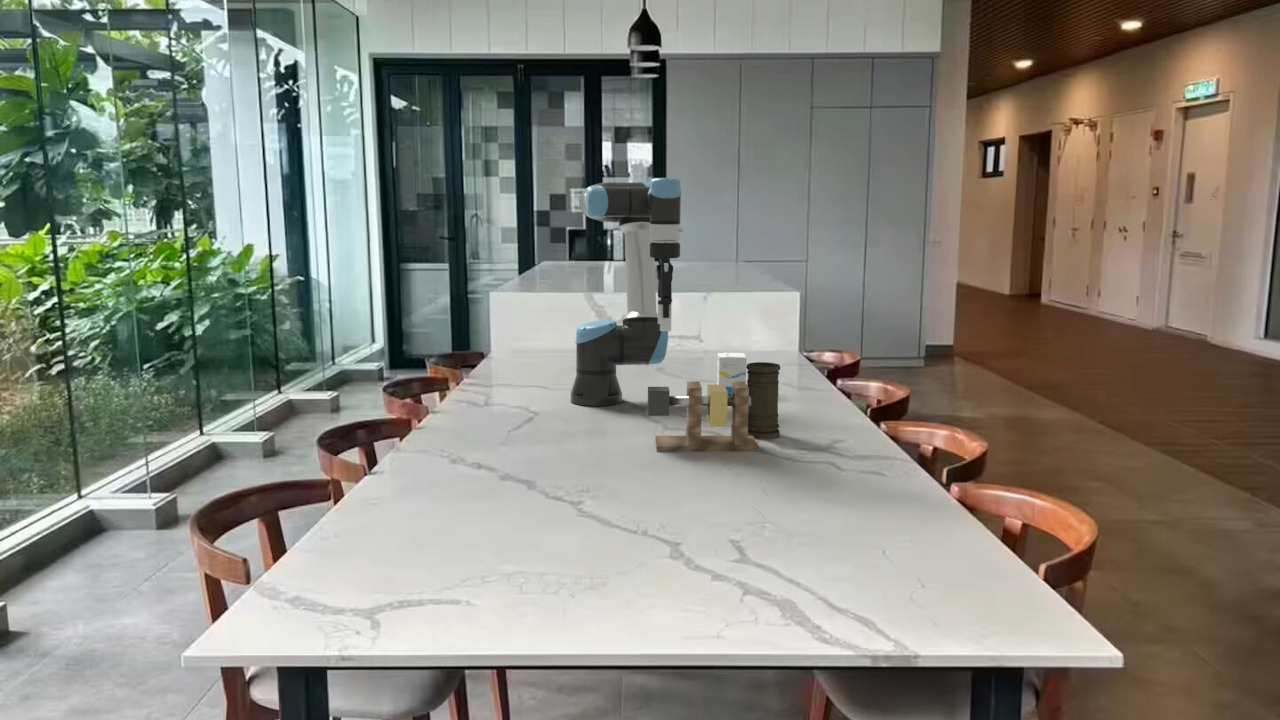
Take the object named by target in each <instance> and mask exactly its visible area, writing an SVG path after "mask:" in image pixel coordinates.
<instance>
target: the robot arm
mask: <svg viewBox="0 0 1280 720" xmlns="http://www.w3.org/2000/svg"><path fill="white" fill-rule="evenodd" d="M681 197H682V189H681V180H680V179H679V178H677V177H654V178H651V180H650V182H643V181H639V182H635V181H634V182H610V181H609V182H600V183H596V184H592V185H589V186H588V187H586V188H585V189H583V191H582V192H581V193H580V196H579V198H578V199H579V200H578V201H579V203H578V204H579V208H580V210H581V212H582V213H583V214H584V216H586V217H587V218H589V219H592V220H596V221H599V222H605V223H618V224H619V225H618V229H619V230H620V231H621V232H622V233H623V235H624V253H625V254H624V255H625V257H624V258H625V278H626V279H625V282H626V286H625V287H626V308H627V309H626V310H627V312H626V315H625V316H624V317H622V324H618V323H617V322H616V321H615V320H613V319H607V320H606V319H603V320H595V321H589V322H586V323H582V324H581V325H579V326H577V328H576V334H575V335H576V337H575V340H574V341H575V344H576V348H575V349H576V352H575V353H576V354H575V355H576V356H575V357H576V358H575V359H576V360H575V363H576V366H575V367H576V371H575V372H576V374H575V378H574V381H573V385H572V388H571V391H570V402H571V403H573V404H575V405H578V406H589V407H601V406H602V407H603V406H605V407H606V406H613V405H618V404H620V403H621V402H623V392H622V389H621V386H620V383H619V379H618V377H617V366H631V365H633V366H635V365H637V366H638V365H639V366H642V365H646V366H649V365H660V364H661V363H662V362H663V361H664V360H665V357H666V356H667V355H666V354H667V350H668V343H669V342H668V341H669V332H671V331H672V302H673V298H672V297H673V296H672V282H673V274H674V265H672V262H671V259H678V258H680V257H681V244H680V242H678V241H680V240H681V233H682V232H684V231H683V228H682V227H681V202H682V201H681ZM655 259H659V260H658V261H657V263H658V264H655V263H656V262H655V261H656V260H655ZM656 274H657V275H656ZM656 276H657V280H658V283H657V290H656ZM656 291H657V292H656ZM657 297H658V298H657Z"/></svg>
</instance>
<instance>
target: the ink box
mask: <svg viewBox="0 0 1280 720" xmlns="http://www.w3.org/2000/svg"><path fill="white" fill-rule="evenodd" d="M716 360H717V361H716V362H717V366H716V385H724V386H725V388H726V390H727V392H728V395H727V396H729V395H730V396H732V382H745V383H746V384H747V368H746V366H747V356H746V354H745V352H718V353H717V359H716Z"/></svg>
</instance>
